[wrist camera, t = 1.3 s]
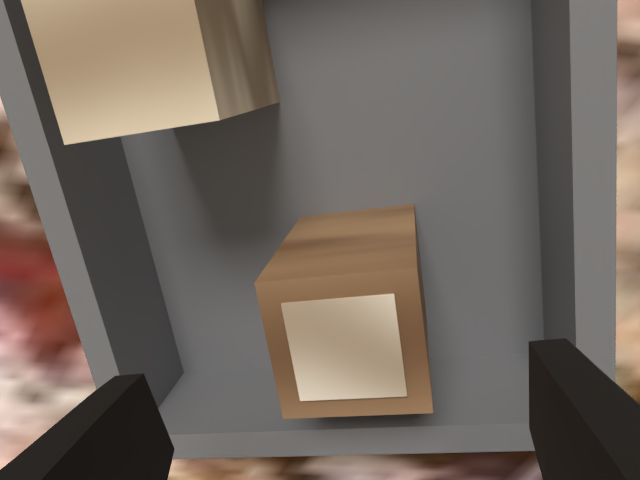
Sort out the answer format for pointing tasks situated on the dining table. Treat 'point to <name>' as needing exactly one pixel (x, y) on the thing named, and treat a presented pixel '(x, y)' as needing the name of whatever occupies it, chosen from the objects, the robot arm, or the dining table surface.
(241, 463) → the dining table surface
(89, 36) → the birch block
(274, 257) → the walnut block
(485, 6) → the bin
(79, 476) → the robot arm
